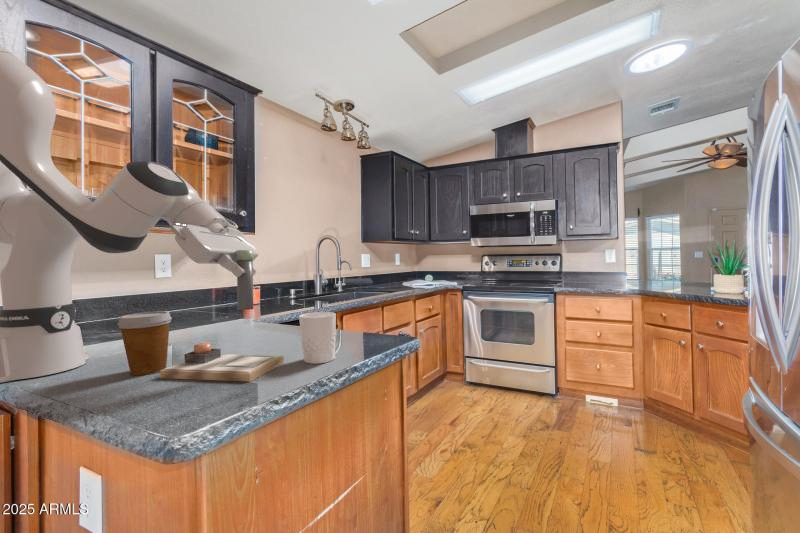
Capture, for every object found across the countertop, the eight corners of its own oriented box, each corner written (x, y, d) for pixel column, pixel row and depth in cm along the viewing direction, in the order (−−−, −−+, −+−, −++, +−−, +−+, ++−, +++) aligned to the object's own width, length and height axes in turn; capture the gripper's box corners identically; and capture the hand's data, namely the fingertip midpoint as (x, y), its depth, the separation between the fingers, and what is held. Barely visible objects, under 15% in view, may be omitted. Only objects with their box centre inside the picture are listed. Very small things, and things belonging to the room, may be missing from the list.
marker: (234, 310, 75) (233, 250, 75) (240, 308, 78) (240, 251, 78) (250, 309, 75) (249, 250, 75) (256, 308, 78) (255, 250, 78)
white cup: (329, 365, 78) (327, 317, 77) (294, 364, 79) (292, 317, 79) (342, 355, 85) (340, 311, 85) (310, 354, 87) (308, 311, 87)
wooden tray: (160, 378, 74) (159, 360, 73) (204, 360, 85) (203, 345, 85) (250, 381, 69) (249, 362, 69) (283, 362, 81) (283, 346, 81)
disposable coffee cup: (185, 365, 82) (182, 311, 82) (145, 379, 73) (141, 318, 73) (151, 363, 85) (148, 310, 84) (108, 377, 76) (104, 318, 75)
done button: (190, 355, 78) (190, 346, 78) (201, 351, 81) (201, 342, 81) (203, 356, 78) (203, 346, 77) (214, 351, 81) (214, 342, 81)
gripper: (177, 209, 67) (229, 262, 66) (238, 222, 87) (278, 263, 86) (154, 234, 67) (206, 288, 66) (220, 242, 88) (260, 283, 87)
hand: (247, 274), depth 76 cm, fingers closed on marker, 3 cm apart
